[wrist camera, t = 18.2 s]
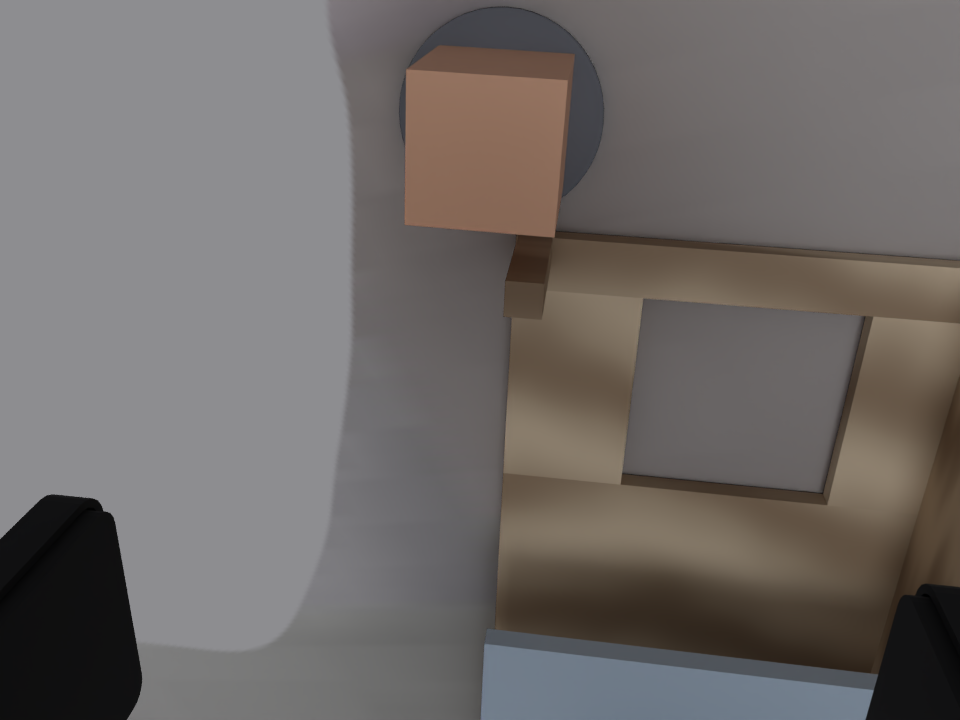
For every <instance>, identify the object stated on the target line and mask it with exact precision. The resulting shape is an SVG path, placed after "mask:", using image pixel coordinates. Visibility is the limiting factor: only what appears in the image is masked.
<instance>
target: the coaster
mask: <svg viewBox="0 0 960 720" xmlns="http://www.w3.org/2000/svg"><path fill="white" fill-rule="evenodd" d="M439 45H446V46H461V47H476V48H492V49H507V50H522V51H537V52H553V53H568V54H575V57H574V69H573V80H572V91H571V103H570V114H569V125H568V137H567V148H566V160H565V171H564V182H563V191H562V197H563V196H565V195H566V194H567V193H568V192H569V191H571V190H572V189H573V188H574V187H575V186H576V185H577V184H578V182H579V181H580V180H581V179H582V177H583V176H584V175H585V173H586V172H587V170H588V168H589V167H590V165H591V163H592V161H593V159H594V157H595V155H596V152H597V150H598V147H599V143H600V140H601V135H602V129H603V118H604V105H603V95H602V90H601V86H600V82H599V79H598V76H597V73H596V71H595V68H594V66H593V64H592V62H591V61H590V59H589V57H588V55H587V54H586V52H585V51H584V50H583V48H582V47H581V45H580V44H579V43H578V42H577V41H576V40H575V39H574V38H573V37H572V36H571V35H570V33H568V32H567V31H566V30H565V29H563V28H562V27H561V26H560V25H558V24H556V23H555V22H553V21H551V20H550V19H548V18H546V17H544V16H542V15H539V14H537V13H534V12H531V11H527V10H524V9H520V8H512V7H490V8H484V9H478V10H475V11H472V12H469V13H465V14H463V15H461V16H459V17H457V18H455V19H453V20H451V21H450V22H448V23H447V24H445V25H444V26H442V27H441V28H439V29H438V30H437V31H436V32H435V33H434V34H432V35H431V36H430V37H429V38H428V39H427V40H426V42H425V43H424V44H423V45H422V46H421V47H420V49H419V50H418V52H417V53H416V55H415V56H414V58H413V60H412V62H411V64H410V66H411V65H413V64H414V63H416V62H417V61H418V60H420V59H421V58H422V57H424V56H425V55H426V54H428V53H429V52H430V51H432V50H433V49H435V48H436V47H437V46H439ZM410 66H409V67H410ZM399 117H400V127H401V132H402V138H403V141H404V144H405V137H406V75H405V78H404V81H403V84H402V90H401V95H400V106H399ZM562 197H561V198H562Z"/></svg>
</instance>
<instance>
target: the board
mask: <svg viewBox="0 0 960 720" xmlns="http://www.w3.org/2000/svg"><path fill="white" fill-rule="evenodd" d="M643 298H645V299H658V300H670V301H683V302H695V303H708V304H721V305H733V306H746V307H758V308H771V309H783V310H796V311H808V312H821V313H834V314H846V315H859V316H866V317H865V321H864V326H863V330H862V334H861V338H860V342H859V346H858V351H857V355H856V359H855V363H854V367H853V371H852V376H851V380H850V384H849V388H848V392H847V396H846V400H845V405H844V409H843V413H842V417H841V421H840V425H839V430H838V434H837V438H836V442H835V446H834V450H833V455H832V459H831V463H830V467H829V471H828V475H827V480H826V484H825V488H824V492H823V494H819V493H809V492H799V491H789V490H779V489H769V488H759V487H749V486H739V485H728V484H718V483H708V482H698V481H688V480H678V479H668V478H658V477H648V476H637V475H627V474H622V469H623V461H624V453H625V444H626V436H627V428H628V420H629V412H630V404H631V395H632V387H633V379H634V371H635V363H636V355H637V347H638V338H639V330H640V322H641V314H642V306H643ZM503 317H512V322H511V341H510V359H509V377H508V395H507V414H506V432H505V450H504V469H503V487H502V505H501V524H500V542H499V560H498V578H497V597H496V615H495V630H504V631H512V632H521V633H529V634H538V635H546V636H555V637H563V638H572V639H580V640H589V641H597V642H606V643H614V644H623V645H631V646H640V647H648V648H657V649H665V650H674V651H683V652H691V653H700V654H708V655H717V656H725V657H734V658H742V659H751V660H759V661H768V662H776V663H785V664H793V665H802V666H810V667H819V668H827V669H836V670H844V671H853V672H861V673H870V674H878V673H879V670H880V666H881V663H882V659H883V655H884V652H885V648H886V645H887V641H888V638H889V634H890V630H891V627H892V623H893V620H894V616H895V613H896V609H897V605H898V603H899V600H900V598H901V597H902V596H903V595H915V594H916V592H917V589H918V588H919V587H920V586H921V585H922V584H936V585H945V586H955V587H960V261H954V260H940V259H927V258H913V257H899V256H886V255H872V254H858V253H845V252H831V251H817V250H803V249H790V248H776V247H762V246H749V245H735V244H721V243H708V242H694V241H680V240H667V239H653V238H639V237H626V236H612V235H598V234H585V233H571V232H557V231H555V237H554V238H553V237H541V236H529V235H516V246H515V249H514V253H513V256H512V259H511V263H510V266H509V270H508V273H507V277H506V280H505V296H504V316H503Z"/></svg>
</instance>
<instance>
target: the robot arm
mask: <svg viewBox="0 0 960 720" xmlns="http://www.w3.org/2000/svg"><path fill="white" fill-rule="evenodd" d="M141 686H142V672H141V667H140V661H139V655H138V650H137V644H136V638H135V633H134V627H133V621H132V616H131V610H130V605H129V599H128V594H127V587H126V582H125V576H124V570H123V565H122V560H121V553H120V548H119V543H118V536H117V532H116V525H115V521H114V518H113V516H112V515H111V514H110V513H108V512H104V511H103V508H102V506H101V504H100V503H99V502H98V500H95V499H92V498H82V497H73V496H63V495H47V496H45V497H44V498H42V499H41V500H40V501H39V502H38V503H37V504H36V505H35V506H34V507H33V508H31V509H30V510H29V512H27V513H26V515H24V516H23V517H22V518H21V519H20V520H19V521H18V522H17V523H16V524H15V525H14V526H13V527H12V528H11V529H10V530H9V531H8V532H7V533H6V534H5V535H4V536H3V537H2V538H1V539H0V720H127V718H128V717H129V715H130V714H131V712H132V710H133V709H134V707H135V705H136V703H137V701H138V698H139V695H140V691H141ZM866 720H960V587H955V586H945V585H936V584H922V585H921V586H920V587H919V588H918V589H917V592H916V594H915V595H903V596H902V597H901V598H900V600H899V603H898V605H897V609H896V613H895V616H894V620H893V623H892V627H891V630H890V634H889V638H888V641H887V645H886V648H885V652H884V655H883V659H882V663H881V666H880V670H879V673H878V677H877V680H876V684H875V687H874V691H873V695H872V698H871V702H870V705H869V709H868V712H867V716H866Z"/></svg>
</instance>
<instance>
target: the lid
mask: <svg viewBox="0 0 960 720" xmlns="http://www.w3.org/2000/svg"><path fill="white" fill-rule="evenodd" d="M877 677H878V674H870V673H861V672H853V671H844V670H836V669H827V668H819V667H810V666H802V665H793V664H785V663H776V662H768V661H759V660H751V659H742V658H734V657H725V656H717V655H708V654H700V653H691V652H683V651H674V650H665V649H657V648H648V647H640V646H631V645H623V644H614V643H606V642H597V641H589V640H580V639H572V638H563V637H555V636H546V635H538V634H529V633H521V632H512V631H504V630H495V629H487V632H486V638H485V644H484V663H483V684H482V705H481V720H866V716H867V712H868V709H869V705H870V702H871V698H872V695H873V691H874V687H875V684H876V680H877Z"/></svg>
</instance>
